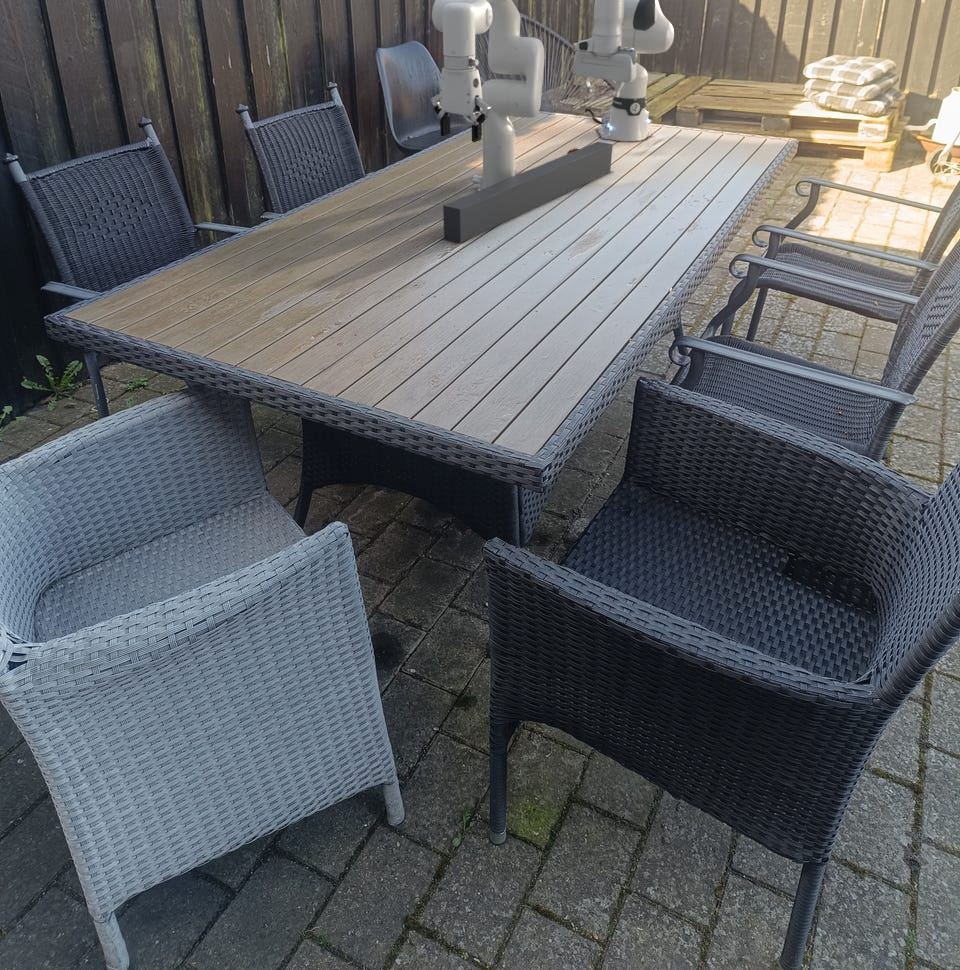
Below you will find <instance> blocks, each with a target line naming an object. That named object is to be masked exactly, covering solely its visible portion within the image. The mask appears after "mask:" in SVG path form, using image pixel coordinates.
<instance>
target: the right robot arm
mask: <svg viewBox="0 0 960 970" xmlns="http://www.w3.org/2000/svg"><path fill="white" fill-rule="evenodd" d="M592 20H593V28H592V30H591V31H592V32H591V37H588V38H586V39H582V40H580V41H577V42H576V45H575V48H576V50H577V51H575V53H574V56H573V64H572V73H573V75H574V76H575V77H581V78H582V82H583V84H584V86H585V93H586V94H593V91H594V90H593V89H594V86H593V85H591V83H590V80H591V79H595V80H596V79H598V80H606V81H613V82H615V89H614V90H613V91H612V101H611V107H610V108H609V109H608V110H607V111H606V113H605V114H604V116H602V117H601V120H599V119H597V118H596V115H595V113H594V112H593V110H591V108H586V109H584V113H590V115H591V116H592V117H591V119H592V120H593V121H594V122H595V123H598V124H600V125H599V126H597V132H598V134H599V135H600V137H601V138H602V139H603V140H613V141H620V142H638V141H643V140H646V138H649V137H651V136H652V135H651V134H652V133H651V132H650V131H649V123H651V120H650V119H649V111H647V110H646V107H647V102H648V100H647V99H648V96H647V87H648V78H649V75H648V71H647V69H646V68H645V67H644V66H642V65H641V64H640V63H638V62H637V61H638V54H642V55H643V54H645V55H655V54H662V53H666V52H668V50H670V48H671V46H672V45H673V42H674V38H675V31H674V26H673V24H672V23H671V21H669V19H668V18H667V17H666V16H665V15H664V13H663V11H662V9H661V6H660V3H659V0H594V2H593V7H592Z"/></svg>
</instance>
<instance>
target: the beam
mask: <svg viewBox="0 0 960 970" xmlns="http://www.w3.org/2000/svg"><path fill="white" fill-rule="evenodd" d="M613 146H614V145H613V143H610V142H609V143H608V142H603V141H596V142H593V143H591V144H588V145H586V146H584V147H581V148H578V149H579V150H576V151H574V152H571V153H569V154H567V153H566V154H564V155H561V156H559V157H557V158H554V159H553V160H550V161H547V162H545V163H543V164H540V165H537V166H535V167H532V168H529V169H528V170H525V171H524V172H523V171H522V172H521V173H518V174H515V176H513V177H511V178H508V179H506V180H504V181H501V182H499V183H496V184H494V185H492V186H489V187H487V188H484V189H482V190H479V191H478V190H477V191H474V192H472V193H470V194H468V195H465V196H463V197H460V198H458V199H455V200H453V201H451V202H448V203H445V204H443V205H442V209H443V210H442V211H443V215H442V216H443V239H445V240H448V241H453V242H457V243H459V244H461V243H463V242H466V241H468V240H469V239H471V238H473V237H476V236H478V235H480V234H482V233H485V232H487V231H489V230H491V229H493V228H495V227H497V226H499V225H502V224H503V223H505V222H507V221H510V220H512V219H514V218H516V217H518V216H520V215H522V214H524V213H528V212H529V211H531V210H533V209H535V208H538V207H540V206H542V205H544V204H546V203H548V202H550V201H553V200H554V199H556V198H559V197H560V196H563V195H565V194H567V193H569V192H572V191H574V190H576V189H578V188H580V187H582V186H584V185H586V184H588V183H591V182H593V181H595V180H597V179H599V178H601V177H603V176H605V175H607V174H610V173H611V168H612V158H613Z"/></svg>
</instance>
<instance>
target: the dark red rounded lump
mask: <svg viewBox="0 0 960 970" xmlns="http://www.w3.org/2000/svg"><path fill="white" fill-rule="evenodd" d="M579 149H580V148H578V147H573V148H571V149H569V150H568V151H567V153H566V155H567V154H569V153H571V152H574V151H576V150H579Z"/></svg>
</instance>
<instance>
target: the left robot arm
mask: <svg viewBox="0 0 960 970" xmlns="http://www.w3.org/2000/svg"><path fill="white" fill-rule="evenodd" d="M433 2H434V3H433V5H432V10H431V11H432V12H431V19H432V23H433V26H434V28H435V29H436V30H437V31H439V32H441V33H442V44H443V45H442V49H443V50H442V53H443V67H442V68H441V74H440V82H439V83H440V84H439V93H438V94H436V95H434V96H433V97H431V98H430V101H431V103H432V106H433V110H434V113H436V115H437V119H439V129H440V136H441V137H445V136H448V135H450V134H451V117H450V116H449V115H450V114H453V115H459V116H464V117H469V118H470V120H471V122H472V124H471V143H477V142H480V141H481V140H482V176H481V175H477V174H474V175H473V176H472V184H476V185H479V187H478V188H477V191H479V190H482V189H484V188H487V187H489V186H492V185H494V184H496V183H499V182H501V181H504V180H506V179H508V178H511V177H513V176H516V173H515V172H516V171H515V170H516V168H515V167H516V130H515V127H514V125H513V123H512V121H511V120H510V119H509V118H510V117H511V118H527V119H529V118H530V119H531V118H535V117H537V115H538V114H539V112H540V109H541V105H542V95H543V84H544V83H543V82H544V72H545V71H544V70H545V47H544V43H543V42H542V40H540V39H539V38H536V37H533V36H532V37H531V36H521V35H520V33H521V22H522V21H521V20H522V19H521V14H520V12H519V9H518V8H517V6H516V5H515V3H514V2H513V0H434V1H433ZM488 30H489V31H488ZM487 31H488V45H487V48H488V49H487V66H488V69H489V70H490V71H491V73H494V74H500V75H510V76H511V75H513V76H523V77H525V80H520V79H506V78H493V79H489V80H486V81H484V82H483V84H482V82H481V76H480V72H479V69H478V68H476V67H477V66H479V63H480V61H479V60H478V59H476V35H482V34H484V33H486V32H487Z"/></svg>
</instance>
